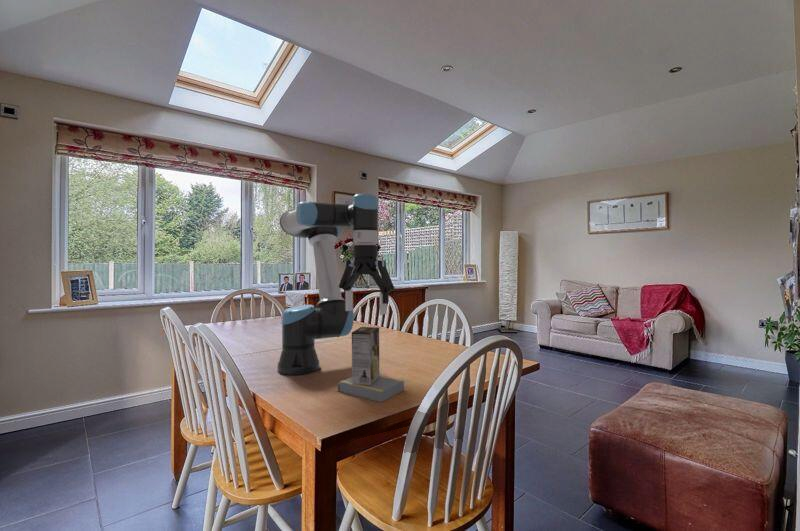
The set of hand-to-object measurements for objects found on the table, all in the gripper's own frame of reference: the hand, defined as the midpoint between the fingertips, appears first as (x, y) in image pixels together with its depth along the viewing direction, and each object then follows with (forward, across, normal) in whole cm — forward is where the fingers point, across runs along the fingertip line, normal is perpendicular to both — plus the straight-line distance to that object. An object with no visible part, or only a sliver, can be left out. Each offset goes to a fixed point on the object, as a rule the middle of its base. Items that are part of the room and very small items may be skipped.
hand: (365, 312), depth 120 cm
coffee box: (+22, 0, 0) cm, 22 cm away
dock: (+24, +2, 0) cm, 25 cm away
